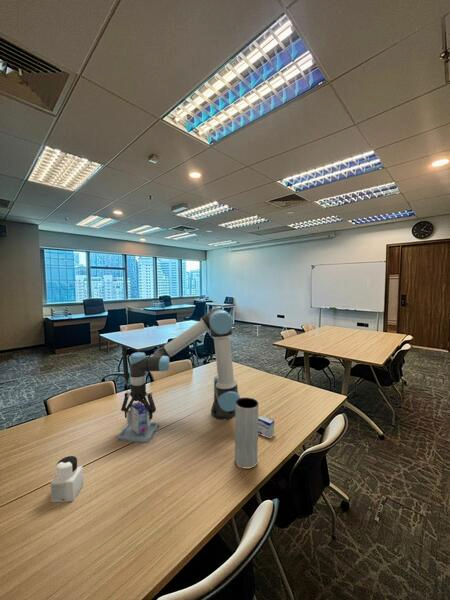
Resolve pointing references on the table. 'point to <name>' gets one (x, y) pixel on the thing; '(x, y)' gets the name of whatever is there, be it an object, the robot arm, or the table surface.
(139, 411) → the ink cartridge box
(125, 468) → the table surface
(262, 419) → the box
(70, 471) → the container
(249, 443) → the vase
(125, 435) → the tray
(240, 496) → the table surface
